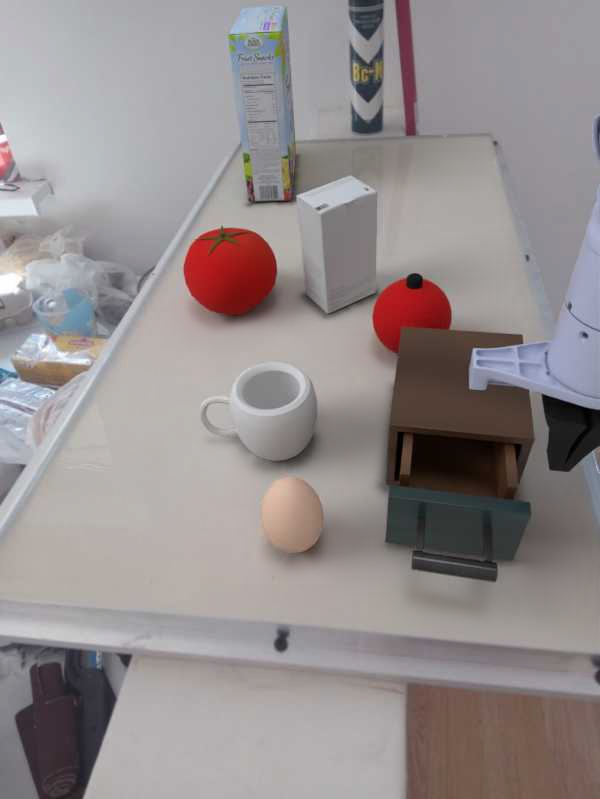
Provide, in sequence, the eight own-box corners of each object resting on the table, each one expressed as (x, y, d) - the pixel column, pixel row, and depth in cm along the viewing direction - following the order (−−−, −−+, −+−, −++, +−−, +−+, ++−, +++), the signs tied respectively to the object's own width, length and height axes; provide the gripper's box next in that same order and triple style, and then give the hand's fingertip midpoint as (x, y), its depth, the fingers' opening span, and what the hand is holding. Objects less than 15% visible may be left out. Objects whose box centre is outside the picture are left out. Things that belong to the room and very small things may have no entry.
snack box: (296, 202, 96) (281, 29, 78) (247, 205, 97) (222, 35, 79) (299, 154, 111) (288, 1, 93) (257, 157, 112) (238, 6, 94)
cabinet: (513, 501, 49) (535, 439, 43) (385, 485, 52) (389, 424, 46) (505, 397, 59) (522, 334, 53) (397, 387, 61) (401, 326, 55)
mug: (321, 411, 59) (317, 356, 54) (317, 473, 53) (313, 418, 48) (213, 411, 61) (199, 357, 55) (198, 471, 55) (180, 418, 49)
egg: (337, 548, 47) (334, 493, 42) (284, 579, 46) (274, 525, 40) (306, 505, 51) (299, 449, 45) (256, 533, 49) (242, 477, 43)
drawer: (516, 612, 41) (537, 568, 37) (379, 590, 44) (382, 546, 39) (505, 445, 53) (519, 396, 48) (397, 434, 55) (401, 385, 50)
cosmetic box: (352, 276, 78) (351, 172, 67) (378, 295, 74) (381, 188, 64) (302, 296, 75) (293, 191, 65) (326, 317, 71) (320, 209, 61)
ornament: (457, 335, 67) (468, 263, 60) (432, 381, 61) (441, 308, 54) (388, 318, 70) (392, 248, 63) (359, 359, 65) (359, 288, 58)
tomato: (181, 298, 77) (163, 229, 70) (258, 270, 81) (248, 202, 73) (212, 339, 70) (194, 267, 63) (294, 307, 74) (287, 235, 66)
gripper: (743, 273, 31) (654, 430, 41) (482, 263, 34) (455, 411, 44) (794, 351, 27) (680, 508, 36) (485, 332, 29) (455, 482, 39)
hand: (557, 460), depth 40 cm, fingers closed
